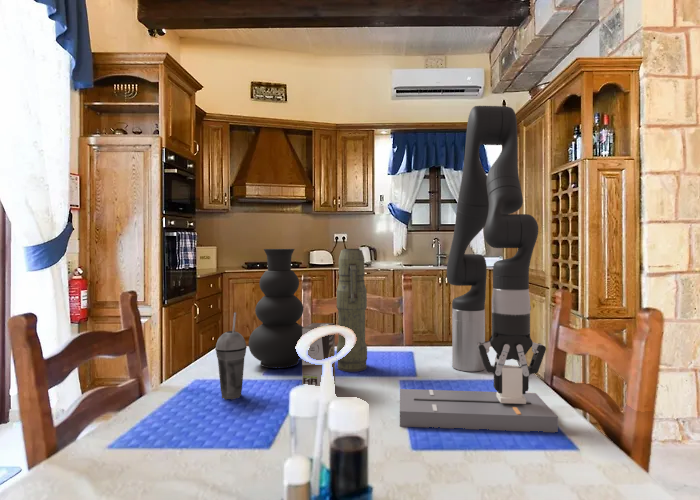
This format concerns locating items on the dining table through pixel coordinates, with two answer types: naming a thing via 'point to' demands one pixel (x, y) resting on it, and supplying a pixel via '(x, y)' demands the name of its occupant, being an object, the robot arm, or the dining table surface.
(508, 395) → the fader tab
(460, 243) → the robot arm
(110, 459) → the dining table surface
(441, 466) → the dining table surface
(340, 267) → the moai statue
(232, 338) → the beverage cup
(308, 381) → the dark grey printed box
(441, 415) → the fader console
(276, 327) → the vase
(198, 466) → the dining table surface
